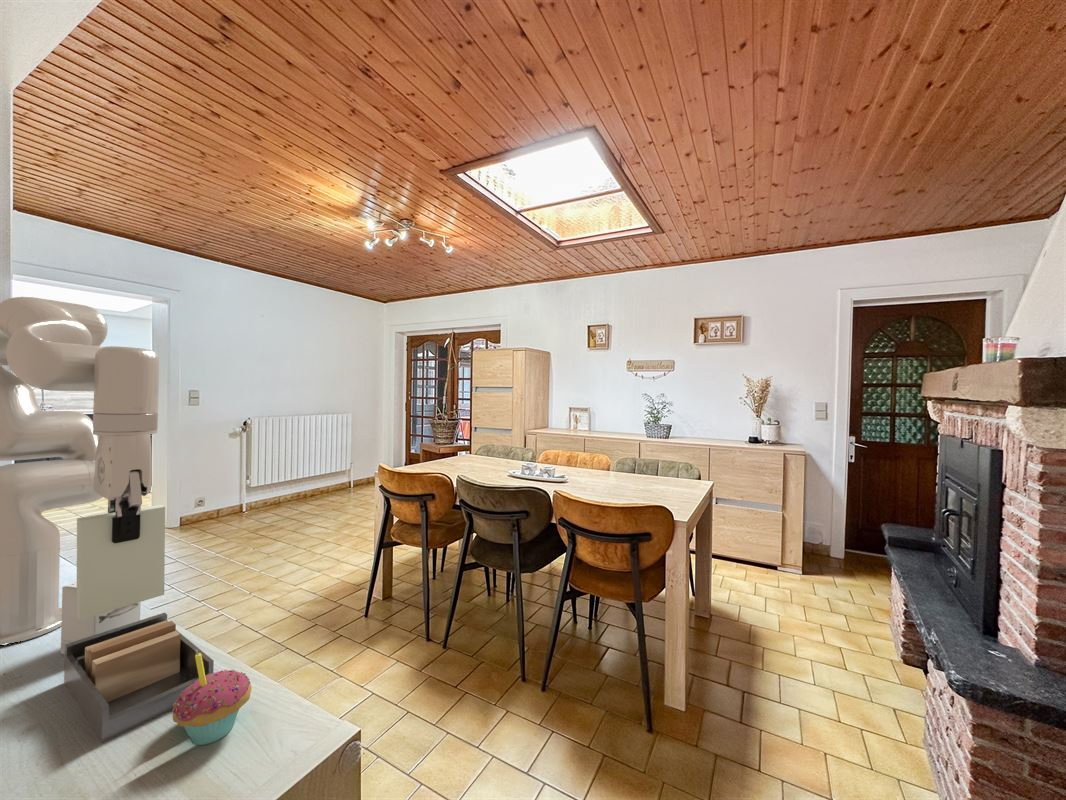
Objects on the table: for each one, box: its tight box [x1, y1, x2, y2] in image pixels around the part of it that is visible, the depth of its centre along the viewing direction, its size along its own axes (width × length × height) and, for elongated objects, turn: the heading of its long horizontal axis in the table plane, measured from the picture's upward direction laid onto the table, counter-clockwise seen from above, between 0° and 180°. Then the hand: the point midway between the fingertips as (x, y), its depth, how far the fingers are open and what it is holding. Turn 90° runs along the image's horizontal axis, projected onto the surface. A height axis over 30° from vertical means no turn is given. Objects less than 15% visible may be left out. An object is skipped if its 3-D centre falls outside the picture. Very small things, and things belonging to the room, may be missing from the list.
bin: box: [63, 612, 215, 744], centre depth 65 cm, size 20×12×7 cm, turn 57°
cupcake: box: [172, 650, 252, 746], centre depth 58 cm, size 9×8×12 cm
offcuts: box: [85, 619, 180, 702], centre depth 66 cm, size 6×10×7 cm, turn 147°
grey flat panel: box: [76, 504, 166, 620], centre depth 69 cm, size 2×10×15 cm, turn 147°
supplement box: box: [60, 581, 142, 655], centre depth 75 cm, size 7×7×13 cm
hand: (123, 538), depth 69 cm, fingers closed on grey flat panel, 2 cm apart
